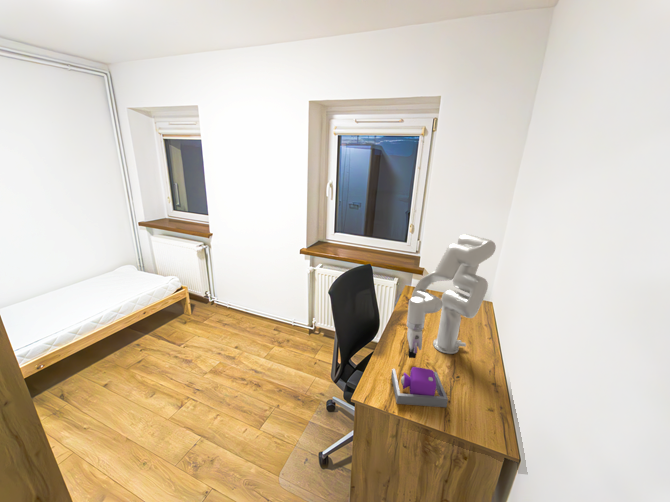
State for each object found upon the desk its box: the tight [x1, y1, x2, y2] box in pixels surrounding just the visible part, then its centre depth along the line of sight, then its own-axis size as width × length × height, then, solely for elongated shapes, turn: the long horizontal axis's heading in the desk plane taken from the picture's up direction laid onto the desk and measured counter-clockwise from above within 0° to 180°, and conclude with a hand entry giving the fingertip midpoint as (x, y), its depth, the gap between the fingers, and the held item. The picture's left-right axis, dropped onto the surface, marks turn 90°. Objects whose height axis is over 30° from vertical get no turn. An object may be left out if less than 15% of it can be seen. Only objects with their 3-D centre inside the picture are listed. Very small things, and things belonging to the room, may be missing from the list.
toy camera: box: [400, 366, 437, 396], centre depth 117 cm, size 11×14×10 cm
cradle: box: [391, 368, 449, 408], centre depth 118 cm, size 19×15×4 cm
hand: (411, 356), depth 135 cm, fingers closed
